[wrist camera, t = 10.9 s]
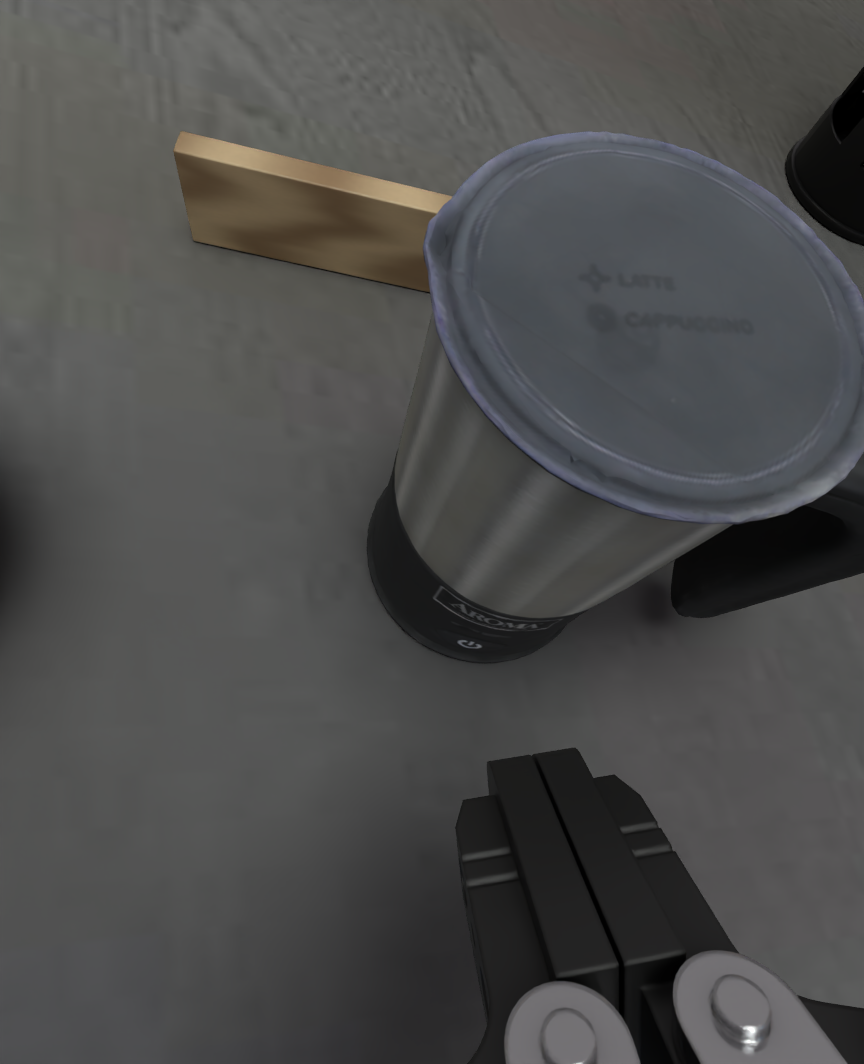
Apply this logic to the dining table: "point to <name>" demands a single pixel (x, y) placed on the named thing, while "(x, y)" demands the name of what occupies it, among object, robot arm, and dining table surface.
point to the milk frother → (620, 399)
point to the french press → (834, 165)
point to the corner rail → (305, 211)
